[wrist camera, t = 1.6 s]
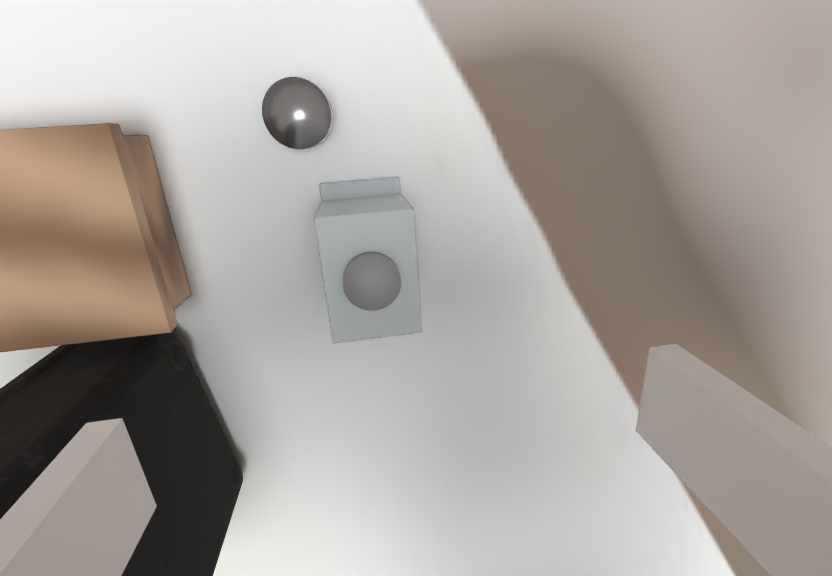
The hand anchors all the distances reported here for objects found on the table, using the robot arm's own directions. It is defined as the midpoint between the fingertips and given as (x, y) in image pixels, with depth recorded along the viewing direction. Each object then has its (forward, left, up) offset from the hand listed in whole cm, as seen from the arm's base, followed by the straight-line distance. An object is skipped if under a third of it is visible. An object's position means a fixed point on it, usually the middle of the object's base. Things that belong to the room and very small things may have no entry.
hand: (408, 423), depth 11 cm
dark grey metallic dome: (+8, +3, -19) cm, 21 cm away
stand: (+3, +17, -19) cm, 26 cm away
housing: (0, 0, -19) cm, 19 cm away
